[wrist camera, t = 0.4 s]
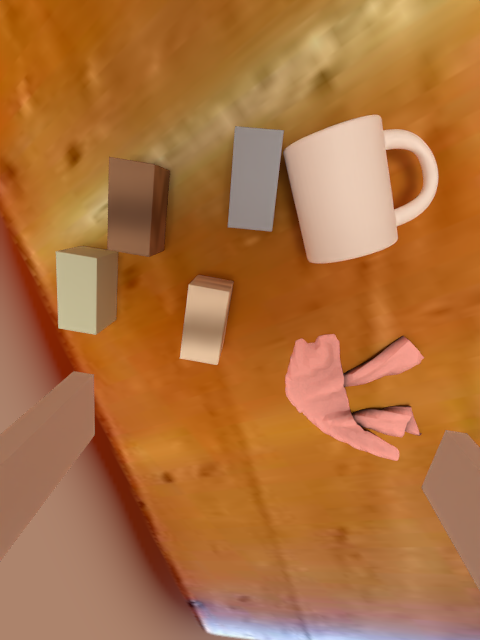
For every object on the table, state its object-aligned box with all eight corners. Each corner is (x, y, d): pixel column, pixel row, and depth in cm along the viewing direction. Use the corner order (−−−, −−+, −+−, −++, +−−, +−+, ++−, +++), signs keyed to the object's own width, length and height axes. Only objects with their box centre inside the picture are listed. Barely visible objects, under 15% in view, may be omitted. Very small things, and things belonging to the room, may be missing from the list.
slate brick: (239, 138, 31) (235, 126, 27) (280, 142, 31) (283, 130, 26) (232, 224, 34) (227, 227, 29) (270, 228, 34) (271, 231, 29)
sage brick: (83, 245, 36) (55, 251, 31) (118, 251, 36) (96, 258, 31) (83, 313, 38) (58, 328, 34) (116, 319, 38) (96, 334, 34)
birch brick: (198, 274, 36) (188, 284, 31) (233, 280, 36) (229, 291, 31) (190, 339, 39) (179, 358, 34) (223, 345, 39) (217, 365, 34)
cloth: (271, 328, 38) (272, 336, 36) (471, 300, 35) (485, 306, 33) (293, 466, 44) (295, 480, 42) (463, 451, 42) (475, 465, 39)
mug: (303, 256, 34) (314, 270, 27) (280, 156, 31) (285, 140, 24) (421, 223, 33) (468, 228, 25) (408, 114, 30) (457, 82, 22)
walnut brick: (131, 164, 33) (109, 156, 28) (170, 170, 33) (154, 164, 28) (128, 244, 35) (107, 249, 31) (164, 250, 35) (148, 256, 31)
